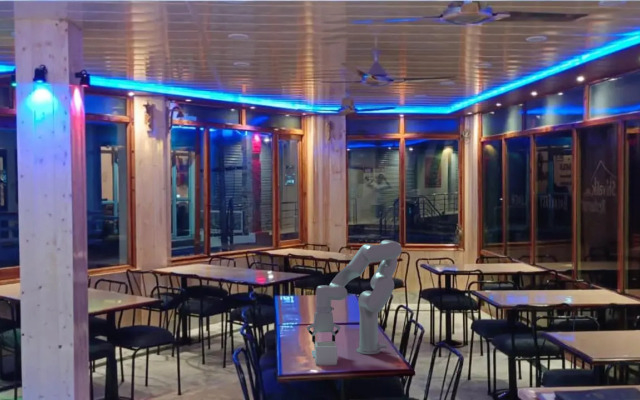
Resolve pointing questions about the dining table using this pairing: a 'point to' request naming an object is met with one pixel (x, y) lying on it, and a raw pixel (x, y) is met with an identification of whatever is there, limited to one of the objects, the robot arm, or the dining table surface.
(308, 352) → the dining table surface
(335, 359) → the storage box
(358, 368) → the dining table surface
